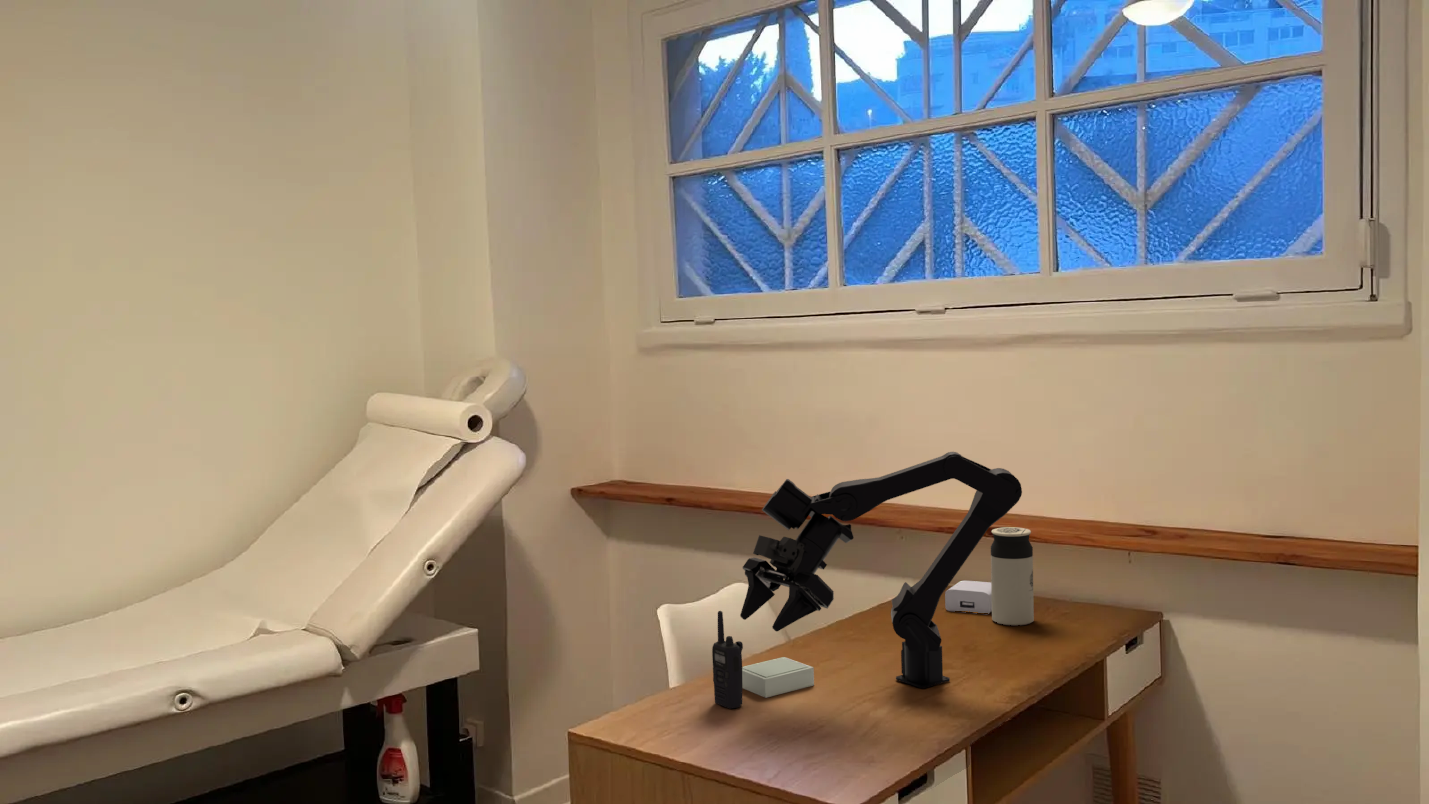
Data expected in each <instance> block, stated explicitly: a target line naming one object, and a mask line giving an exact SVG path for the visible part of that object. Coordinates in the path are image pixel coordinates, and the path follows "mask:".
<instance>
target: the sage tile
mask: <svg viewBox="0 0 1429 804" xmlns="http://www.w3.org/2000/svg"><path fill="white" fill-rule="evenodd" d="M814 672H815V669H814V666H811V665H807V664H805V663H802V662H800V661H796V660H793V659H791V658H789V657H787V656H786V657H785V656H782V657H778V658H774V659H769V660H766V661H761V662H757V663H752V664H748V665H745V666H742V690H746V691H748V692H751V693H754V694H755V695H758V696H760V697H763V698H770V697H774V696H777V695H781V694H786V693H789V692H793V691H798V690H802V689H805V688H809V687H812V686H815V673H814Z"/></svg>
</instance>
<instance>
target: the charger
mask: <svg viewBox="0 0 1429 804" xmlns="http://www.w3.org/2000/svg"><path fill="white" fill-rule="evenodd" d="M944 594H945V595H944V601H945V602H944V603H945V605H944V607H945V609H946V611H948V612H955V611H968V612H969V611H970V612H978V613H988V614H987V615H989V614H990V613H992V594H991V581H988V582H987V581H976V580H975V581H974V580H961V581H958V582H957V583H956V584H954V585H952V586H951V587H950V588H948V589H946V590H945V591H944Z"/></svg>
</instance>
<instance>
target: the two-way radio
mask: <svg viewBox="0 0 1429 804" xmlns="http://www.w3.org/2000/svg"><path fill="white" fill-rule="evenodd" d="M723 613H724V612H723V611H721V610H718V612H717V641H715V642H714V643H713V644H712V647H711V649H712V650H711V651H712V652H711V655H712V656H711V657H712V675H713V676H712V681H713V687H714V688H713V690H714V703H715V704H717V705H719V706H722V707H723V708H727V709H729V710H732V709H733V710H734V709H735V708H740V707H741V706H742V705H743V688H742V667H743V658H742V657H743V655H742V652H743V649H744V644H743V642H742V641H740V640H739V641H735V642H734V639H733V638H734V637H732V636H730V635H728V636H726V638H725V631H724V630H725V629H724V627H725V626H724V614H723Z"/></svg>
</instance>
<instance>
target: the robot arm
mask: <svg viewBox="0 0 1429 804" xmlns="http://www.w3.org/2000/svg"><path fill="white" fill-rule="evenodd" d="M949 480H956V481H958V482H960V483H962V484H964V485H966V486H968V487H970V488H971V489H974V490H975V492H974V496H973V498H972V501H971V504H970V506H969V510H967V511H968V512H966V515H965V516H964V518H963V519H962V520H961V521H960V523H959V525H958V526H957V528H956V529H955V530H954V532H953V533H952V535H951V536H950V537H949V539H948V540H947V542H946V543H945V544H944V546H943V548H942V549H941V550H940V552H939V553H938V555H937V556H936V557H935V559H934V560H933V562H932V563H931V565H930V566H929V567H928V569H927V570H926V572H925V573H924V575H922V578H920V579H919V581H917V582H916V583H914V585H912V586H911V585H910V584H908V582H903V585H902V586H901V589H900V591H899V592H898V594H897V595H896V596H895V597H894V598H892V599H891V605H892V607H891V610H890V617H891V623H892V627H893V628H892V629H893V631H894V633H895V634H896V635H897V636H898V637H899V638H901V639H903V640H904V641H902V642H901V651H900V656H901V657H900V659H901V660H900V662H901V668H900V669H901V675H897V676H895V680H896V681H899V682H902V683H903V684H908V685H911V686H913V687H917V688H919V689H925V688H930V687H933V686H937V685H940V684H944V683H947V682H950V681H951V678H950V677H948V676H944V675H943V674H944V673H943V646H942V645H941V643H942V637H941V634H940V630H939V627H938V625H937V624H936V623H935V622H934V621H933V618H934V616H935V613H936V610H937V608H938V605H939V602H940V598H941V596H942V595H943V594H944V593H945V592H946V590H947V588H948V586H949V585H950V584H951V582H952V581H953V579H954V578H955V577H956V575H957V574H958V572H959V570H961V568H962V567H963V565H964V564H965V562H966V561H967V560H968V559H969V557H970V555H971V554H972V552H973V551H974V550H975V548H976V547H977V545H978V544H979V542H980V541H981V539H982V538H983V537H984V536H985V534H986V533H987V531H988V530H989V528H990V527H992V525H994V524H995V523H997V522H998V521H999V520H1000V519H1002V518H1003V517H1004V516H1005V515H1006V514H1007V513H1009V512H1010V510H1012V509H1013V507H1014V506H1016V504H1017V503H1019V501H1020V499H1021V497H1022V494H1023V490H1022V489H1023V488H1022V483H1021V482H1020V481H1019V479H1018V478H1017V477H1016V476H1015V475H1014V474H1013V473H1011V471H1009V470H1007V469H1005V468H1002V467H997V468H989V467H987V466H986V465H985V466H984V465H983V464H981V463H978V462H976V461H974V460H972V459H969V458H967V457H965V456H963V455H962V454H960V453H958V452H957V451H948V452H946V453H944V454H943V455H941V456H938V457H935V458H933V459H929V460H927V461H923V462H920V463H917V464H913V465H912V466H909V467H905V468H903V469H900V470H896V471H894V472H891V473H887V474H885V475H883V476H878V477H873V478H872V477H871V478H859V479H854V480H853V479H851V480H847V481H841V482H838V483H837V484H835V485H834V486H833V487H831V490H830V491H827V492H822V493H820V494H816V495H813V496H810V495H809V494H808V493H806V492H805V491H803V490H802V489H801V488H799V487H798V486H796V484H795V483H794V482H793V481H792V480H790V479H789V478H785V480H784V482H783V483H782V484H781V485H780V486H779V488H778V489H777V490H776V491H774V492H773V493H772V495H771V496H770V497H769V499H768V500H767V501H766V503H765V504H764V506H763V508H762V509H761V511H762V512H764V513H765V514H766V515H767V516H769V517H770V518H771V519H773V520H774V521H775V522H777V523H778V524H779V525H780V526H782V527H784V528H785V529H786V530H788V531H790V530H791V528H792V529H793V530H795V529H796V530H799V529H800V528H801V527H802V525H803V524H804V522H805V521H806V520H807V518H809V517H810V518H809V520H808V521H807V523H806V525H805V526H804V527H803V529H802V530H801V531H800V532H799V534H798V536H797V537H796V538H795V539H793V538H792V537H788V536H783V537H782V538H781V539H780V540H778V539H775V538H772V537H768V536H764V535H760V534H759V535H758V538H757V540H756V543H755V546H754V549H753V553H752V554H753V555H756V556H762V557H763V558H766V559H770V561H769V562H768V561H767V560H764V559H762V558H758V557H751V558H748V559H747V560H746V561H745V563H744V564H743V566H742V570H743V571H744V576H745V577H746V579H747V583H748V587H747V590H746V591H747V592H746V595H745V598H744V602H743V605H742V608H741V611H740V618H741V619H742V620H744V621H745V620H747V619H748V618H750V617H751V616H752V615H754V614H755V613H756V612H757V611H758V610H759V609H760V608H762V607H763V606H764V605H765V604H766V603H767V602H768V601H770V600H771V599H772V598H773V597H774V596H776V594H775V591H778V590H779V589H780V587H781V586H784V587H787V588H788V598H787V599H786V601H785V603H784V605H783V607H781V608H782V609H781V610H780V611H779V613H778V615H777V616H776V618H775V621H774V622H773V624H772V627H771V628H772V629H773V630H774V631H775V632H780V631H781V630H782V629H784V628H787V627H788V626H790V625H792V624H794V623H795V622H797V621H799V620H800V619H802V618H804V617H807V616H808V615H810V614H812V613H814V612H816V611H818V612H820V611H822V608H824V609H829V607H830V605H831V604H832V602H833V601H834V600H835V597H834V594H835V593H834V592H835V591H834V590H833V589H832V588H831V587H830V585H828V584H827V583H826V582H825V581H824V580H823V579H822V578H821V577H820V576H819V575H818V574H816V572H817V570H818V569H821V570H825V569H826V568H827V565H828V564H827V563H826V562H825V559H826V558H827V556H828V555H829V553H830V552H831V550H832V549H833V548H834V546H835V545H836V543H837V541H838V540H841V541H842V542H843V543H845V544H847V543H849V542H851V541H852V540H853V539H854V533H853V531H852V525H851V524H850V523H848V524H843V523H841V522H850V521H851V522H852V521H854V520H855V519H857V518H860V517H861V516H863V515H865V514H867V513H869V512H870V511H872V510H874V509H876V508H877V507H878V506H880V505H882V504H883V503H885V502H887V501H890V500H892V499H896V498H898V497H901V496H903V495H908V494H910V493H913V492H917V491H919V490H922V489H925V488H928V487H931V486H933V485H937V484H940V483H942V482H947V481H949ZM826 515H829V516H828V517H827V516H826ZM833 516H834V517H833ZM837 519H838V520H837ZM839 520H840V521H841V522H840V521H839Z"/></svg>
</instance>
